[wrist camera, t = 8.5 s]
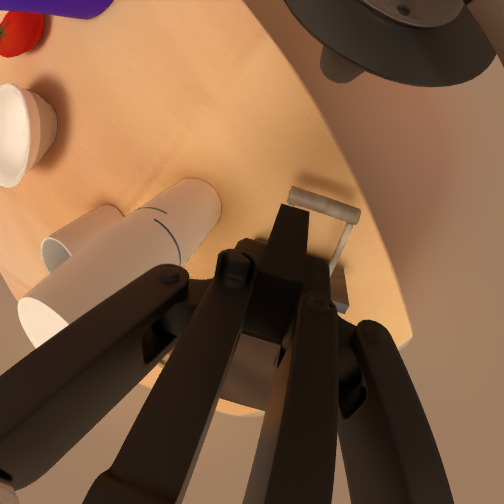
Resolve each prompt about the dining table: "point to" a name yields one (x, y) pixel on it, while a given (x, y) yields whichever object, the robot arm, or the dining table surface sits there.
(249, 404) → the cabinet
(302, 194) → the drawer
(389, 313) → the dining table surface
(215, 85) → the dining table surface
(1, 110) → the bowl
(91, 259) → the cylindrical container
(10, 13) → the tomato
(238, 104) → the dining table surface
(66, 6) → the bottle
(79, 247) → the mug
